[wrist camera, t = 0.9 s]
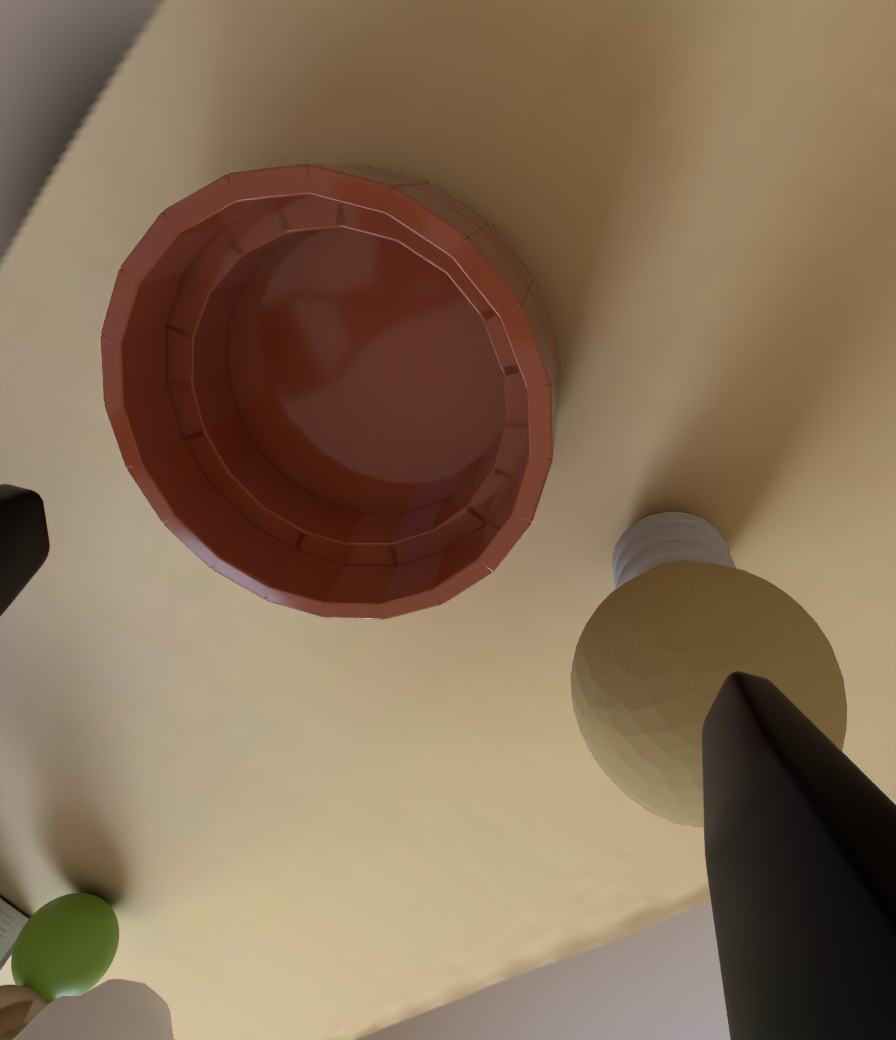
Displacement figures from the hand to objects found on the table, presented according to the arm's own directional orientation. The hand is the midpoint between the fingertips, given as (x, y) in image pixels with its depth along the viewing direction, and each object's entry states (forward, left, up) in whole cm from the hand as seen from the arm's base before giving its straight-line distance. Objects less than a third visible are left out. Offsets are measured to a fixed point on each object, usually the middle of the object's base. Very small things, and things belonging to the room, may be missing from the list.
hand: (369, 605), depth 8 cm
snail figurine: (-41, -10, -14) cm, 44 cm away
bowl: (-4, +2, -14) cm, 15 cm away
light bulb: (0, -9, -14) cm, 17 cm away
